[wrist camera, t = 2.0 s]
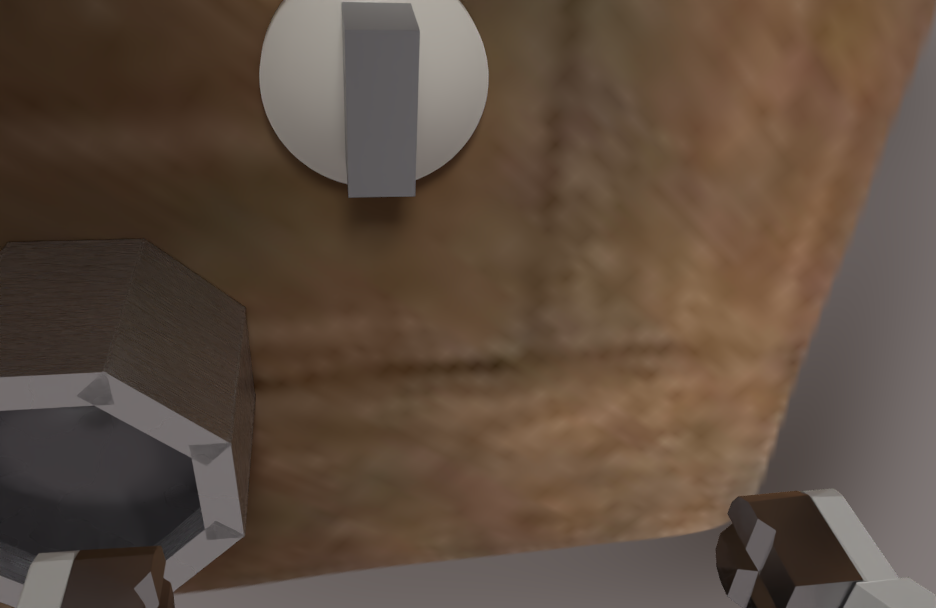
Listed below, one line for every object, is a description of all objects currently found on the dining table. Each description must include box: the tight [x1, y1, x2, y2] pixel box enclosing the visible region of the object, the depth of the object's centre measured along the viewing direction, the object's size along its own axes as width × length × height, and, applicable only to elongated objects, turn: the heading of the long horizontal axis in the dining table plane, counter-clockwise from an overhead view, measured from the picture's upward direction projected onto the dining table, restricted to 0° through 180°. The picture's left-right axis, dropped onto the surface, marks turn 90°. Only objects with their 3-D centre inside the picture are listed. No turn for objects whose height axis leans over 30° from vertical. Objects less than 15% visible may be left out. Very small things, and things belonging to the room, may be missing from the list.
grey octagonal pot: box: [0, 238, 256, 608], centre depth 28 cm, size 10×10×7 cm
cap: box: [259, 0, 489, 198], centre depth 25 cm, size 7×7×4 cm
